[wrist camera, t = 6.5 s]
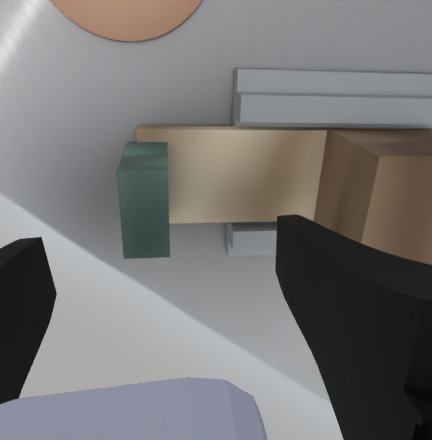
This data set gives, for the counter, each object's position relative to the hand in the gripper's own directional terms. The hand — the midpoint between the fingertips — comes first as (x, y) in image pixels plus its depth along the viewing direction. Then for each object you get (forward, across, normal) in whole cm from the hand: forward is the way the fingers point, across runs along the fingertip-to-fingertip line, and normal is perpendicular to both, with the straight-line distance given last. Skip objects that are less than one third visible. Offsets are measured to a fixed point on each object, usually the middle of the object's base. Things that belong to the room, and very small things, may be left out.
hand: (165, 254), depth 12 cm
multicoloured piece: (+8, -6, +1) cm, 10 cm away
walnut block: (+7, -10, +1) cm, 13 cm away
